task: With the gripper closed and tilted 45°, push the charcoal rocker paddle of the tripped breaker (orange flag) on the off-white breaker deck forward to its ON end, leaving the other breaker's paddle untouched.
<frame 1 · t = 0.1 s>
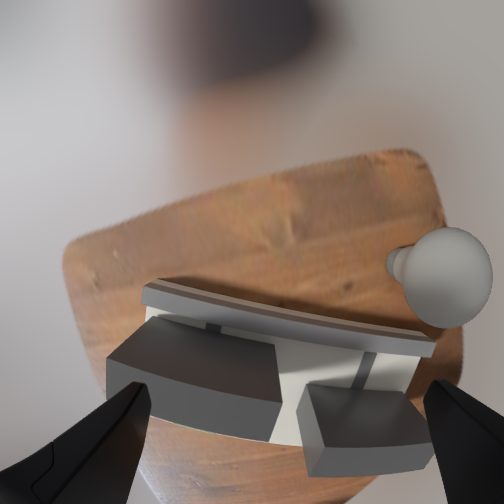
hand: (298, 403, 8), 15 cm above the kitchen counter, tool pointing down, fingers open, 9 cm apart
lightbulb: (393, 261, 23), on the kitchen counter
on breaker: (199, 372, 18), point 6 cm above the kitchen counter, slide at 6.0 cm
breaker deck: (281, 379, 24), on the kitchen counter
tripped breaker: (365, 429, 18), point 6 cm above the kitchen counter, slide at 3.0 cm
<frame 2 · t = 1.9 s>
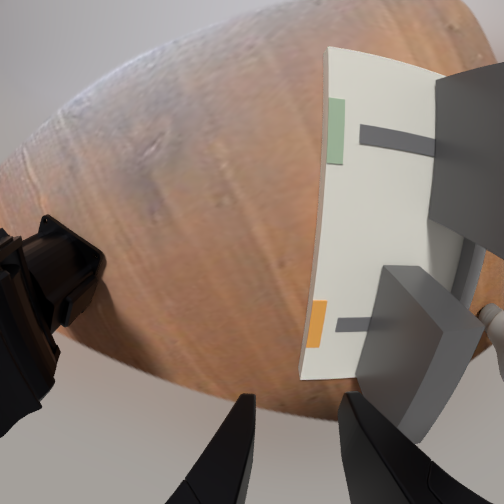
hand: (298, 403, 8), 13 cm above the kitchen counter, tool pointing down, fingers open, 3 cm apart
lightbulb: (482, 309, 21), on the kitchen counter
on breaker: (489, 156, 11), point 6 cm above the kitchen counter, slide at 6.0 cm
breaker deck: (401, 234, 19), on the kitchen counter
tripped breaker: (407, 358, 16), point 6 cm above the kitchen counter, slide at 3.0 cm
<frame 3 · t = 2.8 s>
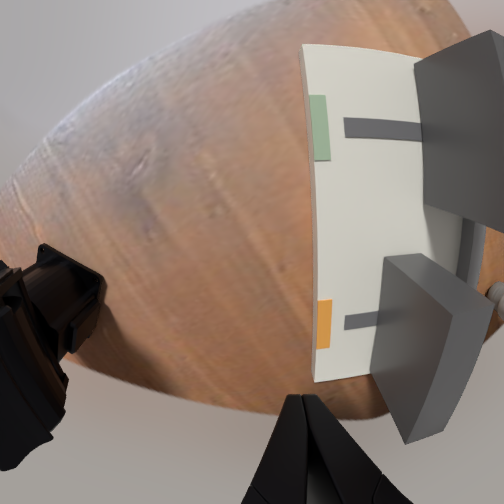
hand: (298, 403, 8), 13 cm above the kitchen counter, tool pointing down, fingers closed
lightbulb: (489, 289, 21), on the kitchen counter
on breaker: (476, 132, 11), point 6 cm above the kitchen counter, slide at 6.0 cm
breaker deck: (398, 223, 19), on the kitchen counter
tripped breaker: (419, 347, 15), point 6 cm above the kitchen counter, slide at 3.0 cm
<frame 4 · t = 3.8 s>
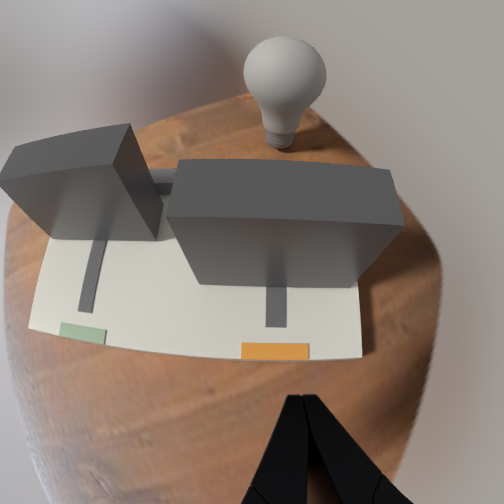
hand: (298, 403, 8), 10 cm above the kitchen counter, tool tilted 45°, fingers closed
lightbulb: (278, 146, 26), on the kitchen counter
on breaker: (80, 192, 17), point 6 cm above the kitchen counter, slide at 6.0 cm
breaker deck: (183, 265, 21), on the kitchen counter
tripped breaker: (281, 234, 15), point 6 cm above the kitchen counter, slide at 3.0 cm
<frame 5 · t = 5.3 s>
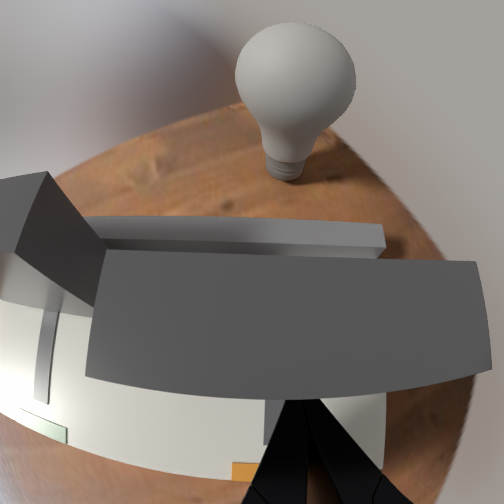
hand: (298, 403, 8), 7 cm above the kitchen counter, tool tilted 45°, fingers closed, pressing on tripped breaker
lightbulb: (283, 176, 20), on the kitchen counter
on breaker: (13, 257, 11), point 6 cm above the kitchen counter, slide at 6.0 cm
breaker deck: (155, 349, 15), on the kitchen counter
tripped breaker: (291, 349, 9), point 6 cm above the kitchen counter, slide at 3.2 cm, touching gripper
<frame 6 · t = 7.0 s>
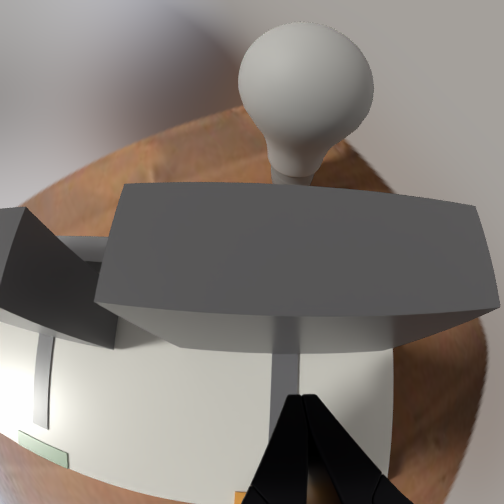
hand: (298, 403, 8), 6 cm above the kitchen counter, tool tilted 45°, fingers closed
lightbulb: (289, 188, 19), on the kitchen counter
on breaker: (3, 285, 10), point 6 cm above the kitchen counter, slide at 6.0 cm
breaker deck: (155, 376, 14), on the kitchen counter
tripped breaker: (299, 298, 10), point 6 cm above the kitchen counter, slide at 6.6 cm
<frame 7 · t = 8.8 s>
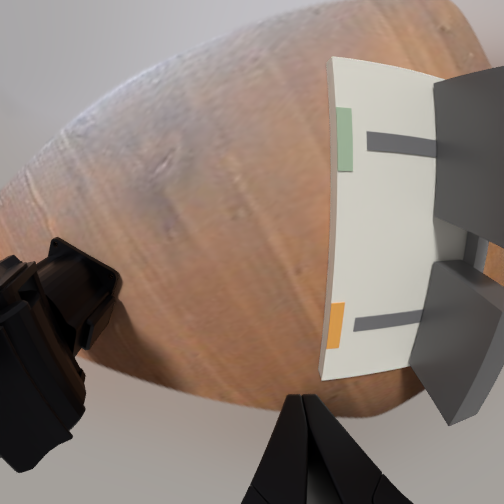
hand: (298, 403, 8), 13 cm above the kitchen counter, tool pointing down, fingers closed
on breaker: (489, 154, 12), point 6 cm above the kitchen counter, slide at 6.0 cm
breaker deck: (408, 233, 20), on the kitchen counter
tripped breaker: (461, 340, 16), point 6 cm above the kitchen counter, slide at 6.6 cm
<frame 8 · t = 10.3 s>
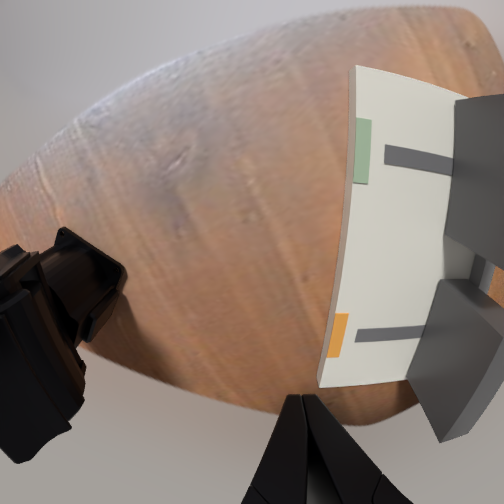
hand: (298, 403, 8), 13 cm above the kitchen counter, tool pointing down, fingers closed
breaker deck: (418, 248, 19), on the kitchen counter
tripped breaker: (459, 360, 16), point 6 cm above the kitchen counter, slide at 6.6 cm
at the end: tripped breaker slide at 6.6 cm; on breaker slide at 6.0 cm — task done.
